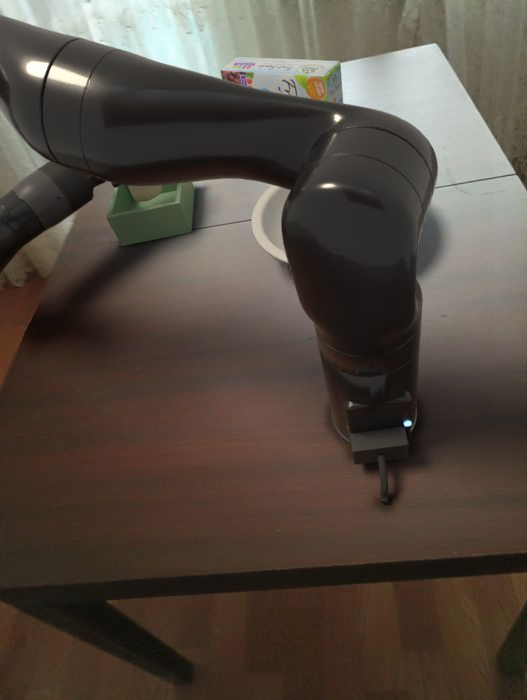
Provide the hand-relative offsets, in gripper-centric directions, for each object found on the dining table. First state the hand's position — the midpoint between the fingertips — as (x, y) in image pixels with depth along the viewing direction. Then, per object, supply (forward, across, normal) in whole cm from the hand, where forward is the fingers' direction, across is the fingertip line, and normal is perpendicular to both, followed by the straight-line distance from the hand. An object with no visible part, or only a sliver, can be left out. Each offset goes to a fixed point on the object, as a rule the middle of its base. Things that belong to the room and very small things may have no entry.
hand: (138, 135), depth 79 cm
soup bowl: (+7, -33, +14) cm, 36 cm away
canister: (-3, 0, +9) cm, 9 cm away
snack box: (+24, -9, +14) cm, 30 cm away
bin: (-2, 0, +14) cm, 14 cm away
